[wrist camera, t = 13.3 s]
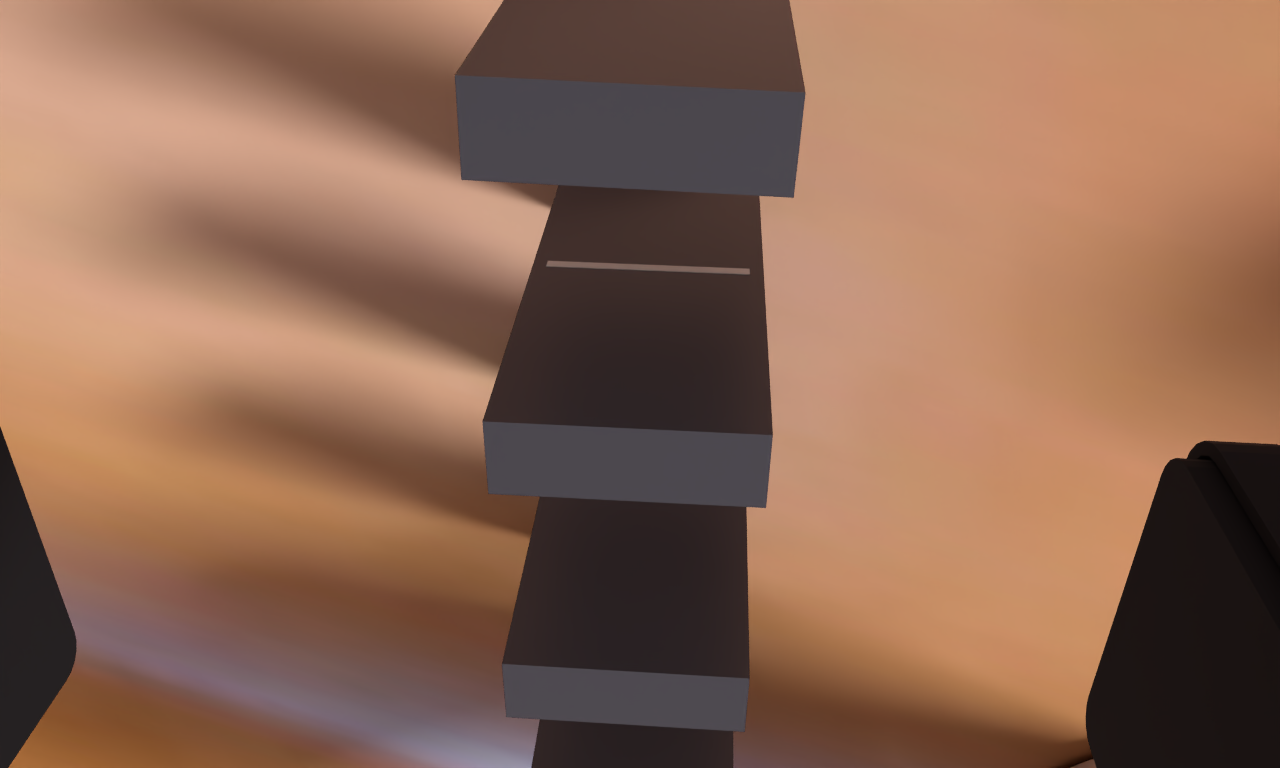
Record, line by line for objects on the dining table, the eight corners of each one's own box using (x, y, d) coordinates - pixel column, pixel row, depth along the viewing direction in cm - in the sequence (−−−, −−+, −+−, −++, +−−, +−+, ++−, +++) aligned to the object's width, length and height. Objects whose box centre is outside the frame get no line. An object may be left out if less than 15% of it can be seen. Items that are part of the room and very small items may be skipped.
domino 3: (572, 353, 33) (502, 663, 23) (743, 360, 32) (749, 677, 22) (573, 399, 33) (506, 717, 23) (740, 407, 33) (744, 732, 23)
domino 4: (576, 512, 36) (517, 844, 26) (732, 520, 36) (733, 858, 26) (577, 550, 37) (520, 886, 27) (729, 558, 36) (729, 900, 26)
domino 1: (561, -88, 26) (455, 73, 16) (775, -79, 26) (805, 90, 16) (561, -15, 27) (461, 180, 17) (769, -6, 27) (793, 199, 17)
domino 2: (566, 159, 29) (482, 420, 19) (757, 165, 29) (772, 434, 19) (568, 216, 30) (488, 494, 20) (753, 223, 30) (765, 508, 20)
